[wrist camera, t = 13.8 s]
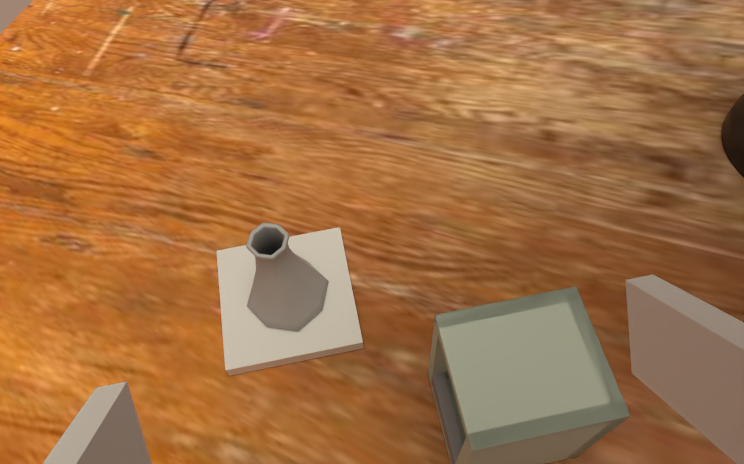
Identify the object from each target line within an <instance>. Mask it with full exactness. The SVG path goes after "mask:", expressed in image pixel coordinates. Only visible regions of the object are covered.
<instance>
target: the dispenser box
mask: <svg viewBox="0 0 744 464" xmlns="http://www.w3.org/2000/svg"><path fill="white" fill-rule="evenodd" d="M428 376H429V380H430V384H431V388H432V392H433V396H434V400H435V404H436V408H437V412H438V416H439V420H440V424H441V428H442V432H443V436H444V440H445V444H446V447H447V451H448V455H449V459H450V463H451V464H546V463H551V462H555V461H560V460H564V459H569V458H573V457H577V456H579V455H580V454H581V453H583V452H584V451H585V450H586V449H588V448H589V447H590V446H592V445H593V444H594V443H596V442H597V441H598V440H600V439H601V438H602V437H603V436H605V435H606V434H607V433H609V432H610V431H611V430H613V429H614V428H615V427H617V426H618V425H619V424H620V423H622V422H623V421H624V420H626V419H627V418H628V417H630V414H629V411H628V409H627V407H626V404H625V402H624V399H623V397H622V395H621V392H620V390H619V387H618V385H617V383H616V380H615V378H614V376H613V373H612V371H611V368H610V366H609V364H608V361H607V359H606V356H605V354H604V352H603V349H602V347H601V344H600V342H599V340H598V337H597V335H596V333H595V330H594V328H593V325H592V323H591V321H590V318H589V316H588V313H587V311H586V309H585V306H584V304H583V301H582V299H581V297H580V294H579V292H578V290H577V287H576V286H575V287H570V288H565V289H560V290H555V291H550V292H545V293H540V294H535V295H531V296H526V297H521V298H516V299H511V300H506V301H501V302H496V303H491V304H486V305H481V306H476V307H471V308H467V309H462V310H457V311H452V312H447V313H442V314H437V315H435V320H434V328H433V336H432V345H431V353H430V361H429V370H428Z"/></svg>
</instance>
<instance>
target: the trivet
mask: <svg viewBox="0 0 744 464" xmlns="http://www.w3.org/2000/svg"><path fill="white" fill-rule="evenodd" d="M288 245H289V248H290V249H291V251H292V252H293V253H295V254H296V255H298V256H299V257H301V258H303V259H305V260H306V261H308V262H309V263H310V264H311V265H312V266H313V267H314V268H315V269H316V270H317V271H318V272H319V273H320V274H321V275H323V276H324V277H325V278H326V279H327V280H328V281H329V282H328V287H327V291H326V296H325V301H324V306H323V310H322V311H321V312H320V313H319V314H317V315H316V316H315V317H314V318H313V319H312V320H311V321H309V322H308V323H307V324H306V325H305V326H304V327H303V328H302V329H300V330H299V331H292V330H284V329H277V328H269V327H266V326H265V325H264V324H263V323H262V322H261V321H260V320H259V318H258V317H257V316H256V315H255V314H254V313H253V312H252V311H251V310H250V309H249V308H248V307H247V303H248V299H249V296H250V292H251V289H252V285H253V281H254V276H255V272H256V261H255V256H254V255H253V254H252V253H251V252H250V251H249V250H248V249H247V248H246V245H245V246H239V247H234V248H229V249H224V250H218V251H217V263H218V277H219V291H220V304H221V318H222V332H223V346H224V360H225V371H226V372H227V373H228V374H229V376H231V375H236V374H241V373H246V372H251V371H256V370H261V369H266V368H270V367H275V366H280V365H285V364H290V363H295V362H300V361H305V360H309V359H314V358H319V357H324V356H329V355H334V354H339V353H343V352H348V351H353V350H358V349H363V348H364V346H363V340H362V335H361V330H360V325H359V321H358V316H357V311H356V306H355V301H354V296H353V291H352V286H351V281H350V276H349V271H348V266H347V261H346V256H345V251H344V246H343V241H342V236H341V231H340V227H338V228H333V229H328V230H323V231H318V232H312V233H307V234H302V235H297V236H292V237H289V240H288Z"/></svg>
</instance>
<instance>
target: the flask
mask: <svg viewBox="0 0 744 464" xmlns="http://www.w3.org/2000/svg"><path fill="white" fill-rule="evenodd" d="M288 240H289V234H288V233H287V232H286V231H285V230H284V229H283V228H282V227H281V226H280V225H279V224H272V223H262V224H260V225H259V226H258V227H256V228H255V229H254V230H253V231H251V232H250V235H249V238H248V242H247V245H246V248H247V249H248V250H249V251H250V252H251V253H252V254H253V255H254V256H255V261H256V272H255V276H254V281H253V285H252V289H251V292H250V296H249V299H248V303H247V307H248V308H249V309H250V310H251V311H252V312H253V313H254V314H255V315H256V316H257V317H258V318H259V320H260V321H261V322H262V323H263V324H264V325H265V326H266V327H269V328H277V329H284V330H292V331H299V330H300V329H302V328H303V327H304V326H305V325H306V324H307V323H308V322H309V321H311V320H312V319H313V318H314V317H315V316H316V315H317V314H319V313H320V312H321V311H322V310H323V306H324V301H325V296H326V291H327V287H328V282H329V281H328V280H327V279H326V278H325V277H324V276H323V275H321V274H320V273H319V272H318V271H317V270H316V269H315V268H314V267H313V266H312V265H311V264H310V263H309V262H308V261H306V260H305V259H303V258H301V257H299V256H298V255H296V254H295V253H293V252H292V251H291V249H290V248H289V245H288Z"/></svg>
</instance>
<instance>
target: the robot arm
mask: <svg viewBox="0 0 744 464" xmlns="http://www.w3.org/2000/svg"><path fill="white" fill-rule="evenodd" d="M722 139H723V144H724V147H725V150H726V153H727V155H728V156H729V158H730V160H731V161H732V163H733V164H734V166H735V167H736V168H737V169H738V170H739V171H740V172H741V174H742V175H744V94H743V95H742V96H741V97H740V98H739V99H738V101H737V102H736V103H735V105H734V106H733V108H732V109H731V110H730V112H729V113H728V115H727V116H726V118H725V121H724V123H723V128H722ZM625 281H626V296H627V310H628V325H629V339H630V353H631V368H632V374H633V375H634V376H635V377H637V378H638V379H639V380H640V381H641V382H642V383H644V384H645V385H646V386H647V387H648V388H649V389H650V390H652V391H653V392H654V393H655V394H656V395H657V396H659V397H660V398H661V399H662V400H663V401H664V402H666V403H667V404H668V405H669V406H670V407H671V408H672V409H674V410H675V411H676V412H677V413H678V414H679V415H681V416H682V417H683V418H684V419H685V420H686V421H687V422H689V423H690V424H691V425H692V426H693V427H694V428H696V429H697V430H698V431H699V432H700V433H701V434H702V435H704V436H705V437H706V438H707V439H708V440H709V441H711V442H712V443H713V444H714V445H715V446H716V447H718V448H719V449H720V450H721V451H722V452H723V453H724V454H726V455H727V456H728V457H729V458H730V459H731V460H733V461H734V462H735V463H736V464H744V322H742V321H740V320H738V319H736V318H734V317H733V316H731V315H729V314H727V313H725V312H723V311H721V310H719V309H717V308H716V307H714V306H712V305H710V304H708V303H706V302H704V301H702V300H700V299H698V298H697V297H695V296H693V295H691V294H689V293H687V292H685V291H683V290H681V289H680V288H678V287H676V286H674V285H672V284H670V283H668V282H666V281H664V280H663V279H661V278H659V277H657V276H655V275H653V274H652V275H648V276H643V277H638V278H633V279H628V280H625ZM43 464H152V463H151V460H150V457H149V453H148V450H147V447H146V443H145V440H144V437H143V433H142V430H141V427H140V423H139V420H138V417H137V413H136V410H135V407H134V403H133V400H132V397H131V393H130V390H129V387H128V383H127V382H122V383H117V384H112V385H108V386H103V387H98V388H96V389H95V390H94V392H93V393H92V394H91V396H90V397H89V399H88V400H87V401H86V403H85V404H84V406H83V407H82V409H81V410H80V411H79V413H78V414H77V416H76V417H75V418H74V420H73V421H72V423H71V424H70V426H69V427H68V428H67V430H66V431H65V433H64V434H63V435H62V437H61V438H60V440H59V441H58V443H57V444H56V445H55V447H54V448H53V450H52V451H51V453H50V454H49V455H48V457H47V458H46V460H45V461H44V462H43Z"/></svg>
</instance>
